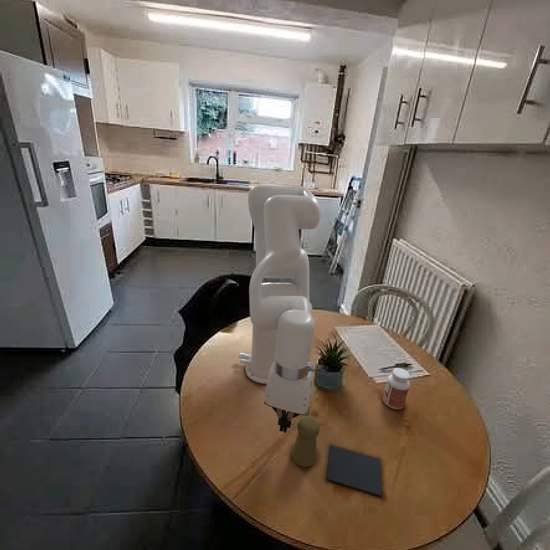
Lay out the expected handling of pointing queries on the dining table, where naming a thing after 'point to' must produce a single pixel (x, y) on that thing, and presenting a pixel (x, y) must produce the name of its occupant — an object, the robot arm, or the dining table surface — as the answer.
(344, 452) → the mat
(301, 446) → the olive green waisted cylinder
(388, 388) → the pill bottle
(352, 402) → the dining table surface
